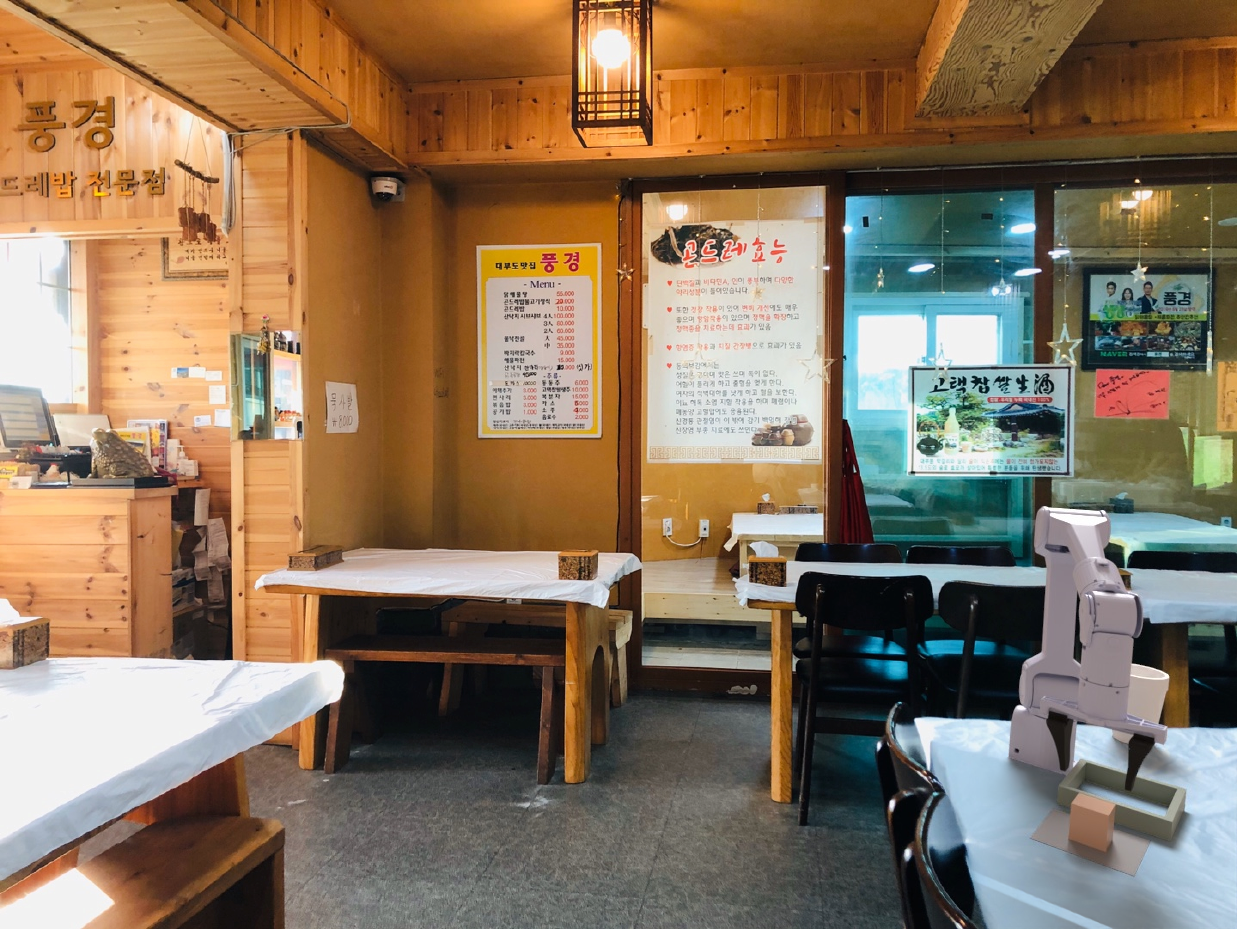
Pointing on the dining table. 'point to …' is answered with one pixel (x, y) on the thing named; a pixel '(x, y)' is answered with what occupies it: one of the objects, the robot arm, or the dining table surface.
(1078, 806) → the clay block
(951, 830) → the dining table surface
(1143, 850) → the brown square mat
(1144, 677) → the foam cup
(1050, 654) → the robot arm
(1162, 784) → the olive bin
